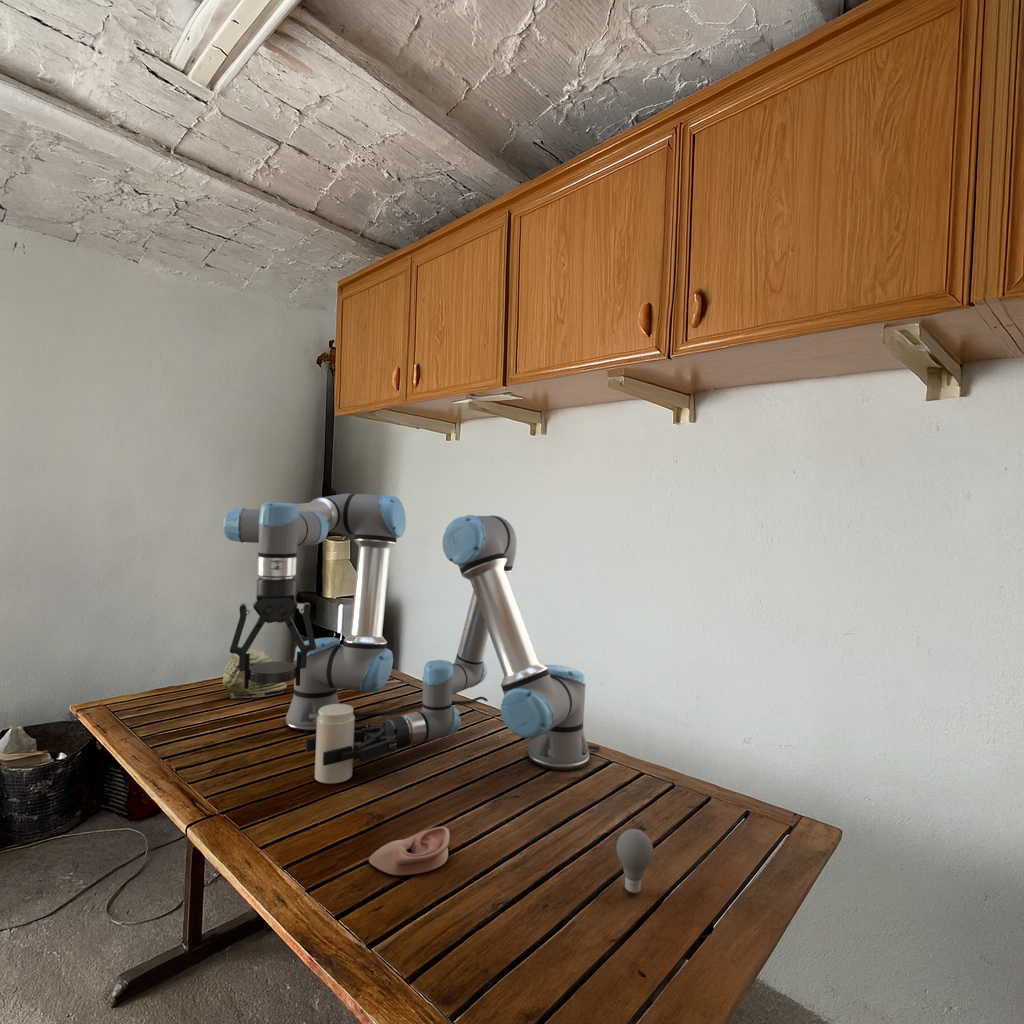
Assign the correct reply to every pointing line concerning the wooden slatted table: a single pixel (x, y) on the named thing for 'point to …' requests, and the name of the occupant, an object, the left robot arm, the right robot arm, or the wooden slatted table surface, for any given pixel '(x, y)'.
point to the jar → (334, 741)
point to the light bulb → (634, 857)
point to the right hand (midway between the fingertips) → (315, 752)
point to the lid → (272, 672)
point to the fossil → (236, 679)
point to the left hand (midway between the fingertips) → (272, 685)
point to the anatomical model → (413, 853)
